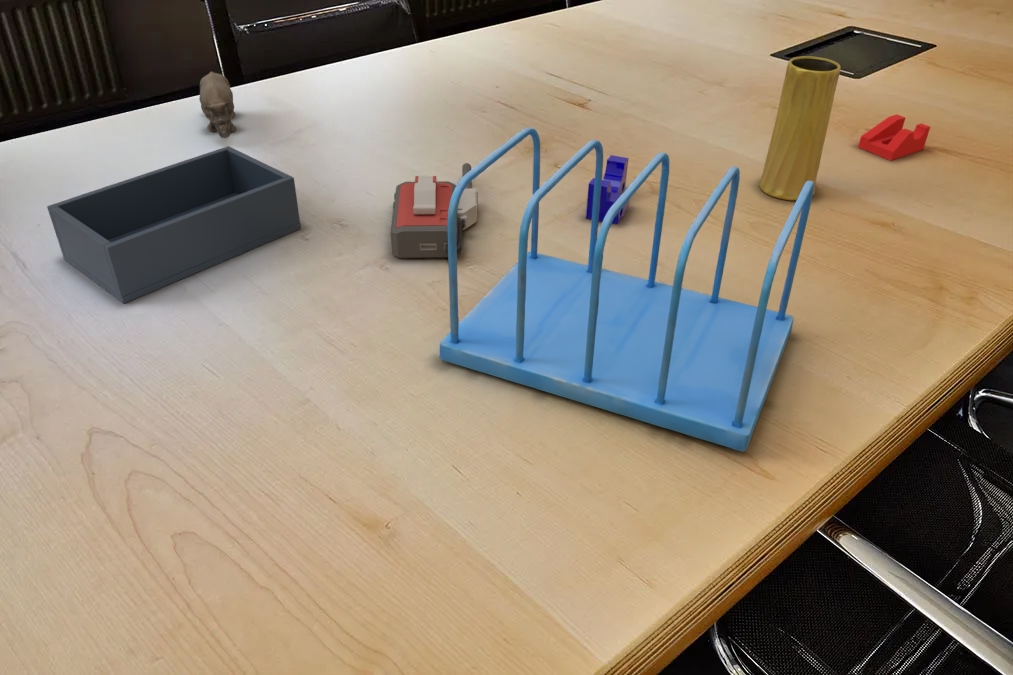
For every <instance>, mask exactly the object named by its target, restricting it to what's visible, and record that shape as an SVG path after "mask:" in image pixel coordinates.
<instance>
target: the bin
mask: <svg viewBox="0 0 1013 675" xmlns="http://www.w3.org/2000/svg"><path fill="white" fill-rule="evenodd" d="M46 208H47V211H48V212H47V213H48V214H49V217H50V220H51V223H52V227H53V229H54V233H55V236H56V239H57V242H58V245H59V248H60V251H61V253H62V258H63V260H64V261H66V262H67V263H68V264H70V265H71V266H73V267H74V268H75V269H77V270H78V271H79V272H80V273H82V274H83V275H84V276H85V277H87V278H89V279H90V280H91V281H92V282H94V283H96V284H97V285H98V286H99V287H101V288H102V289H104V290H105V291H106V292H108V293H109V294H110V295H111V296H113V297H114V298H116V299H117V300H118V301H120V302H121V303H123V304H127V303H129V302H132V301H133V300H135V299H138V298H141V297H143V296H145V295H148V294H149V293H152V292H155V291H157V290H159V289H162V288H164V287H166V286H169V285H171V284H173V283H176V282H178V281H181V280H183V279H185V278H188V277H190V276H192V275H195V274H197V273H199V272H203V271H204V270H206V269H209V268H211V267H213V266H216V265H218V264H220V263H223V262H225V261H228V260H231V259H232V258H234V257H237V256H240V255H241V254H244V253H246V252H249V251H251V250H254V249H256V248H259V247H261V246H263V245H265V244H267V243H270V242H272V241H275V240H277V239H279V238H282V237H285V236H287V235H288V234H291V233H293V232H296V231H298V230H300V229H301V228H302V225H301V218H300V211H299V210H300V209H299V203H298V198H297V190H296V183H295V177H294V176H292V175H290V174H287V173H286V172H283V171H282V170H279V169H278V168H275V167H273V166H271V165H269V164H267V163H264V162H263V161H260V160H259V159H256V158H254V157H252V156H251V155H248V154H246V153H244V152H241V151H239V150H238V149H236V148H234V147H232V146H229V145H227V146H224V147H222V148H219V149H215V150H212V151H209V152H207V153H203V154H199V155H197V156H194V157H191V158H188V159H186V160H182V161H179V162H176V163H173V164H170V165H167V166H163V167H160V168H157V169H155V170H152V171H149V172H146V173H142V174H140V175H137V176H134V177H131V178H128V179H124V180H122V181H119V182H116V183H112V184H110V185H108V186H104V187H101V188H98V189H95V190H92V191H91V190H90V191H89V192H85V193H82V194H80V195H76V196H73V197H70V198H68V199H64V200H60V201H59V202H55V203H52V204H49V205H47V206H46Z"/></svg>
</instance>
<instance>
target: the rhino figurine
mask: <svg viewBox="0 0 1013 675" xmlns="http://www.w3.org/2000/svg"><path fill="white" fill-rule="evenodd" d="M198 97H199V99H198V100H199V103H200V109H201V111H202V113H203V114H204V115H205V117H206V118H207V119H208V120H209V124H208V125H207V127H206V130H207V131H209V132H217V133H218V136H219V137H220V138H222V139H225V140H226V139H229V137H230V135H231V133H234V132H236V131H237V127H236V126H235V124H233V120H232V119H233V118H234V117H235V116H236V112H235V111H234V110H235V104H234V94H233V91H232V88H231V84H230V82H229V79H228V78H226V76H225V75H223V74H221V73H217V72H214V71H210V72H209V73H208V74H206V75H204V76H203V77H202V78H201V79H200V81H199V96H198Z"/></svg>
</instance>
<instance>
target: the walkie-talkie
mask: <svg viewBox="0 0 1013 675" xmlns="http://www.w3.org/2000/svg"><path fill="white" fill-rule="evenodd" d="M461 168H462V169H461V170H462V171H461V173H462V177H463V176H464V175H465V174H467V173H468V172H469V171H470V170H472V165H471V164H470V163H469V162H464V163H463V164H462V167H461ZM462 177H461V178H462ZM456 186H457V184H456V183H453V182H451V181H446V180H445V181H444V180H443V181H442V180H441V181H440V180H439V181H438V180H437V175H415V176H414V181H404V182H402V183H399V184H397V185H396V186H395V192H394V196H393V199H394V200H393V203H392V210H393V211H392V218H391V227H390V246H391V254H392V255H393V256H395V257H396V258H400V259H437V258H438V259H439V258H441V259H442V258H443V259H445V258H447V259H448V210H449V205H450V200H451V197H452V194H453V192H454V190H455V188H456ZM478 207H479V191H478V188H473V180H472V181H471V182H470V183H469V184H468V185H467V186H466V188H465V189H464V191H463V193H462V195H461V198H460V201H459V205H458V209H457V218H456V238H457V255H460V254H461V252H462V249H463V245H462V244H463V243H462V241H463V240H462V237H463V236H462V234H463V233H462V232H463V231H465V230H466V229H468V228H469V227H471V226H472V225H473V224H475V223H476V222H477V221H478Z"/></svg>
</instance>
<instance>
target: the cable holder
mask: <svg viewBox="0 0 1013 675" xmlns="http://www.w3.org/2000/svg"><path fill="white" fill-rule="evenodd" d="M628 165H629V157H624V156H618V155H613V154H610V155H609V156H608V158H607V159H606V164H605V171H604V175H603V177H602V184H601V196H600V208H599V220H598V222H601V223H602V222H603V220H604V218H605V216H606V214H607V212H608V211H609V209H610V208H611V206H612V205H613V204H614V203H615V202H616V201H617V199H618V198H619V197H620V196H621V195H622V194H623V193H624V191H625V190H626V186H627V176H628V167H629V166H628ZM594 183H595V177H592V179H591V180H590V181H589V183H588V186H587V199H586V211H585V212H586V213H585V219H587V220H592V209H593V195H594ZM629 206H630V199H629V200H628V202H627V203H626V204H625V205H624V206H623V208H622V209H621V210H620V211H619V212H618V214H617V215H616V216H615V218H614V220H613V221H612V224H613V225H617V226H618V225H619V224H620V222H621V221H622V219H623V218H624V216H625V215H626V213H627V211H628V210H629ZM612 224H611V225H612Z"/></svg>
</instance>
